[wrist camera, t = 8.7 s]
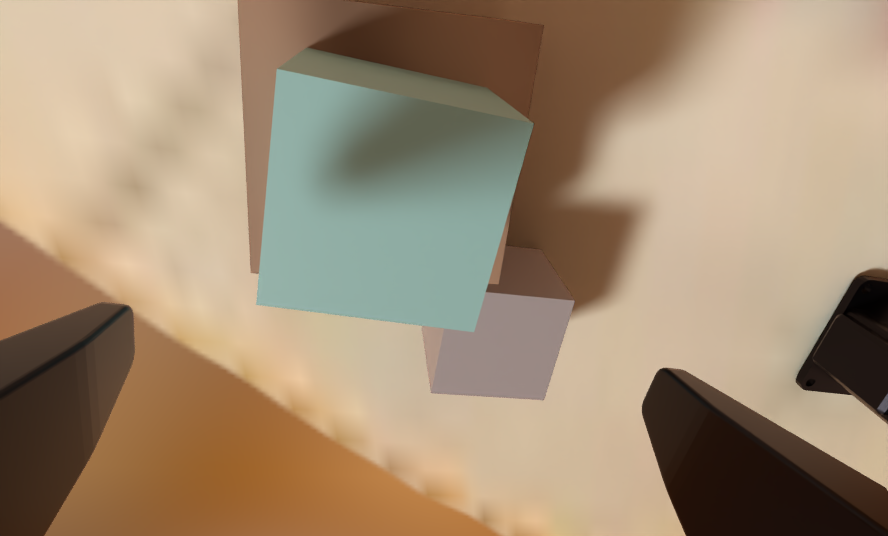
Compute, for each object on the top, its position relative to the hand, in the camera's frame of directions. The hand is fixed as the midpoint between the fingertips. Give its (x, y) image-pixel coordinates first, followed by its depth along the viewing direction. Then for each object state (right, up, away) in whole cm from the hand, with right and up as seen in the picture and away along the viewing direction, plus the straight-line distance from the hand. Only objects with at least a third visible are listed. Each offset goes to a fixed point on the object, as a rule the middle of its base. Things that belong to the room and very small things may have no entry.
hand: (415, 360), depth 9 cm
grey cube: (+2, +1, +15) cm, 15 cm away
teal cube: (-1, +5, +7) cm, 8 cm away
